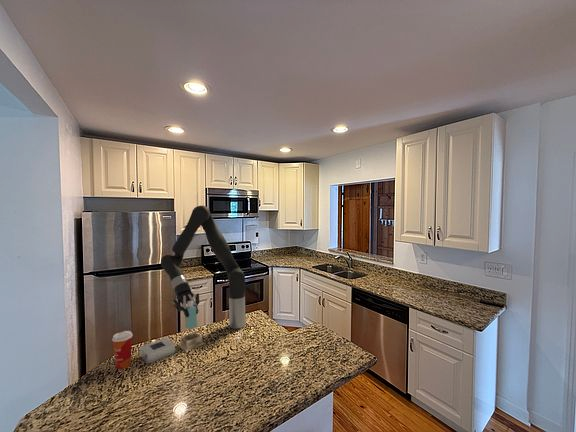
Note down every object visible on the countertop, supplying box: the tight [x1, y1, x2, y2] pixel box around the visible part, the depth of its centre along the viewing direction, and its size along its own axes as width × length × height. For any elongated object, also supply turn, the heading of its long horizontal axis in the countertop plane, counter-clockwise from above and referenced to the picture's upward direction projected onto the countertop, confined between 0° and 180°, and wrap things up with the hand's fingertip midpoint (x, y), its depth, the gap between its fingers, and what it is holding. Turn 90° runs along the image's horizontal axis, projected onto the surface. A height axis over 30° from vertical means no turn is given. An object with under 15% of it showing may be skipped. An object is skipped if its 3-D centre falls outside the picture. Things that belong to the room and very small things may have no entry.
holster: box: [177, 331, 206, 352], centre depth 129 cm, size 10×10×4 cm
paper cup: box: [111, 330, 134, 370], centre depth 113 cm, size 8×8×14 cm
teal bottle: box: [184, 300, 198, 330], centre depth 129 cm, size 4×4×13 cm
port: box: [139, 337, 176, 367], centre depth 121 cm, size 12×10×5 cm
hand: (192, 314), depth 128 cm, fingers closed on teal bottle, 4 cm apart
